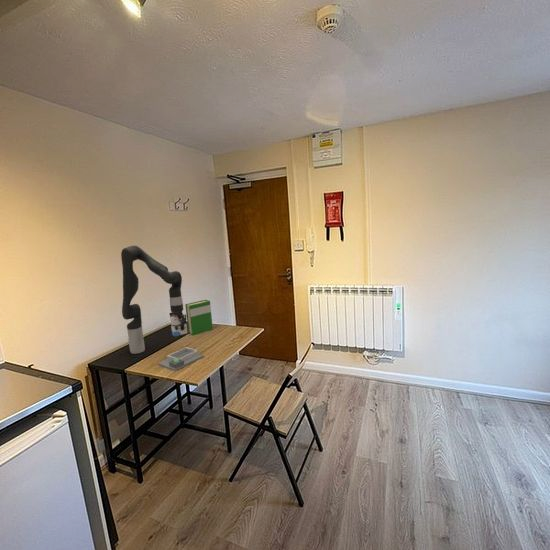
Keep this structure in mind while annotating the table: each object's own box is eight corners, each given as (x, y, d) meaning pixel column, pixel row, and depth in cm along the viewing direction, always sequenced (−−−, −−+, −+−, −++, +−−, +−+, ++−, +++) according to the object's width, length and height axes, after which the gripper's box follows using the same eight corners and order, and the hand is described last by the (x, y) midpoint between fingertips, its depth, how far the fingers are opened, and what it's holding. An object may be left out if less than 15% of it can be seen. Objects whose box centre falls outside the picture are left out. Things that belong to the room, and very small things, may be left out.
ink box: (174, 336, 187) (172, 318, 185) (171, 334, 191) (169, 316, 189) (187, 333, 192) (185, 315, 190) (185, 331, 196) (183, 313, 194)
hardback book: (192, 335, 235) (189, 305, 231) (188, 333, 240) (185, 304, 236) (212, 329, 246) (210, 301, 242) (208, 327, 251) (205, 299, 247)
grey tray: (157, 365, 187) (157, 358, 186) (186, 351, 204) (186, 346, 204) (175, 371, 177) (174, 365, 176) (203, 356, 195) (203, 351, 194)
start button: (172, 365, 182) (172, 359, 181) (177, 362, 184) (176, 357, 184) (176, 366, 180) (175, 360, 179) (180, 364, 182) (180, 358, 182)
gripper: (164, 303, 189) (167, 329, 192) (178, 306, 181) (181, 333, 184) (174, 301, 195) (177, 325, 198) (188, 303, 187) (191, 329, 190)
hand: (179, 329), depth 191 cm, fingers closed on ink box, 6 cm apart
